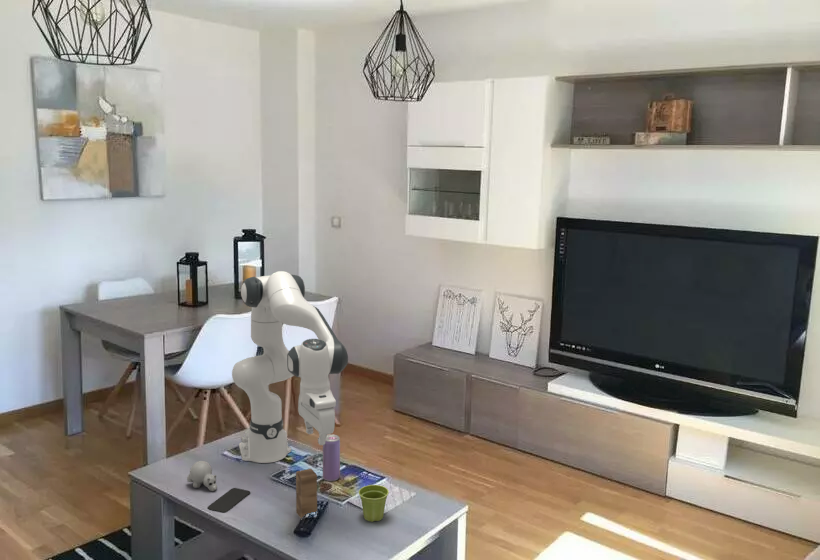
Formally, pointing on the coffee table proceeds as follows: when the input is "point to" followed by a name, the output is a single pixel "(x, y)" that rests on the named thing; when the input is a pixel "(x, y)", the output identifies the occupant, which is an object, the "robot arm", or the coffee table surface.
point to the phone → (229, 500)
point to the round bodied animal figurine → (202, 475)
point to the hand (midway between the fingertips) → (315, 438)
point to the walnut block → (306, 492)
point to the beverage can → (331, 458)
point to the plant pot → (373, 501)
